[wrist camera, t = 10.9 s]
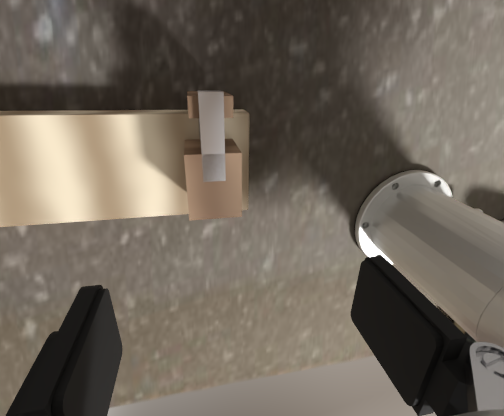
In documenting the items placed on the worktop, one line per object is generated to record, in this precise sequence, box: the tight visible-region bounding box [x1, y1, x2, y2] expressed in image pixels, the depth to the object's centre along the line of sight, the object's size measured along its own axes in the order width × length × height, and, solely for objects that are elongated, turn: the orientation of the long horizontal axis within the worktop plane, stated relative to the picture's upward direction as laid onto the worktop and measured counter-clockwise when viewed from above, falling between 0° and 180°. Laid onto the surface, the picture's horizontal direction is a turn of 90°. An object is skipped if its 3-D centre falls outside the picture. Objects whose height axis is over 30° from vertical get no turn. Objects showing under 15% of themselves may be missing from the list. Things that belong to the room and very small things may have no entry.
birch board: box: [0, 109, 249, 227], centre depth 25 cm, size 24×9×3 cm, turn 89°
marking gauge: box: [184, 91, 242, 220], centre depth 23 cm, size 4×9×6 cm, turn 0°
